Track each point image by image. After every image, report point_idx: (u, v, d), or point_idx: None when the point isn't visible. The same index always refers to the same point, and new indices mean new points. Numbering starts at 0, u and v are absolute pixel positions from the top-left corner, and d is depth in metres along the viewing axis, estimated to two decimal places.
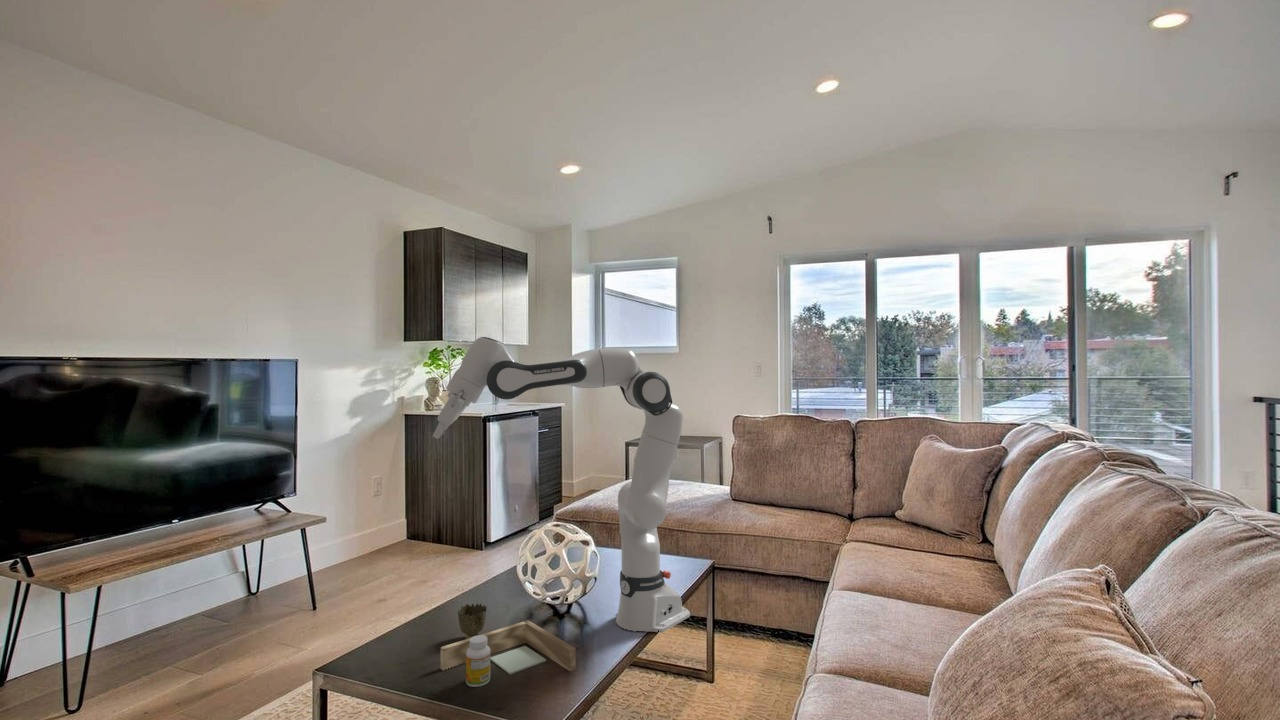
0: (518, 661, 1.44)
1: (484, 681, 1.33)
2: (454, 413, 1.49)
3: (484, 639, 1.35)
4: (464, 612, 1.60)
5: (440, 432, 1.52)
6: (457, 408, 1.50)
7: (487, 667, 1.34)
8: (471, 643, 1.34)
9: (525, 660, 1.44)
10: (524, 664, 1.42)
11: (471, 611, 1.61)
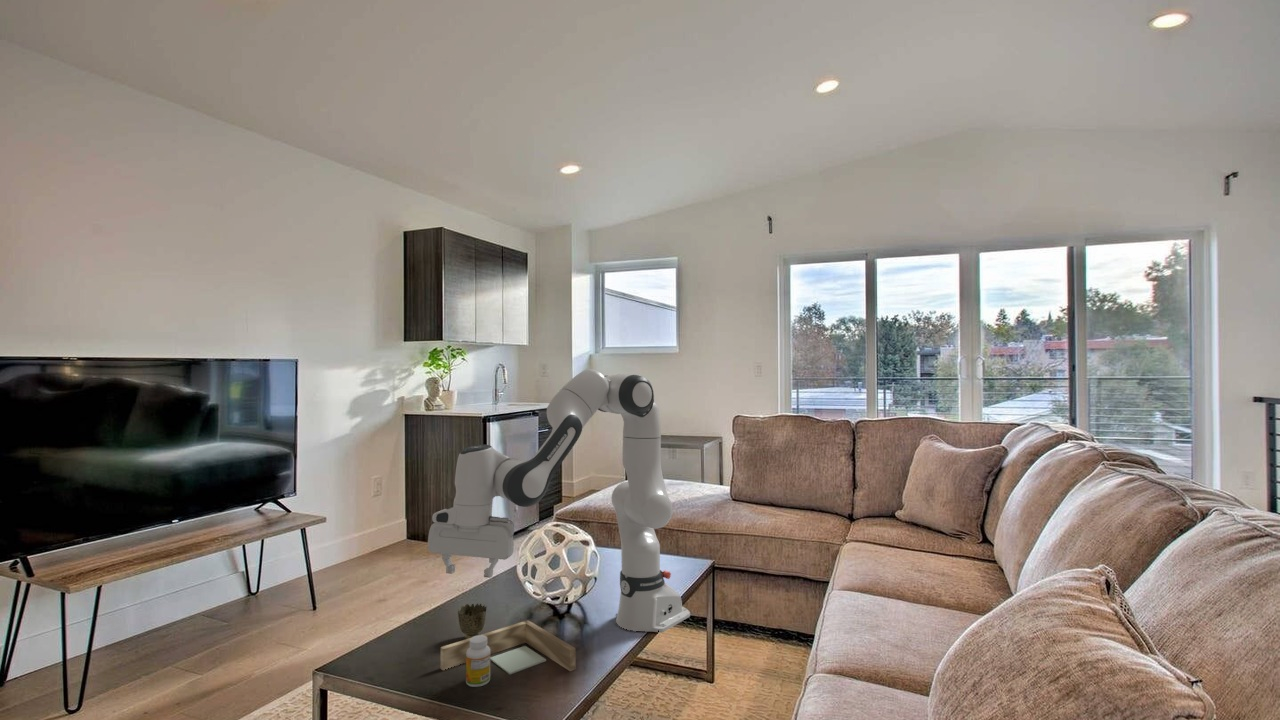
0: (518, 661, 1.44)
1: (484, 681, 1.33)
2: None
3: (484, 639, 1.35)
4: (464, 612, 1.60)
5: (492, 568, 1.36)
6: (512, 535, 1.37)
7: (487, 667, 1.34)
8: (471, 643, 1.34)
9: (525, 660, 1.44)
10: (524, 664, 1.42)
11: (471, 611, 1.61)
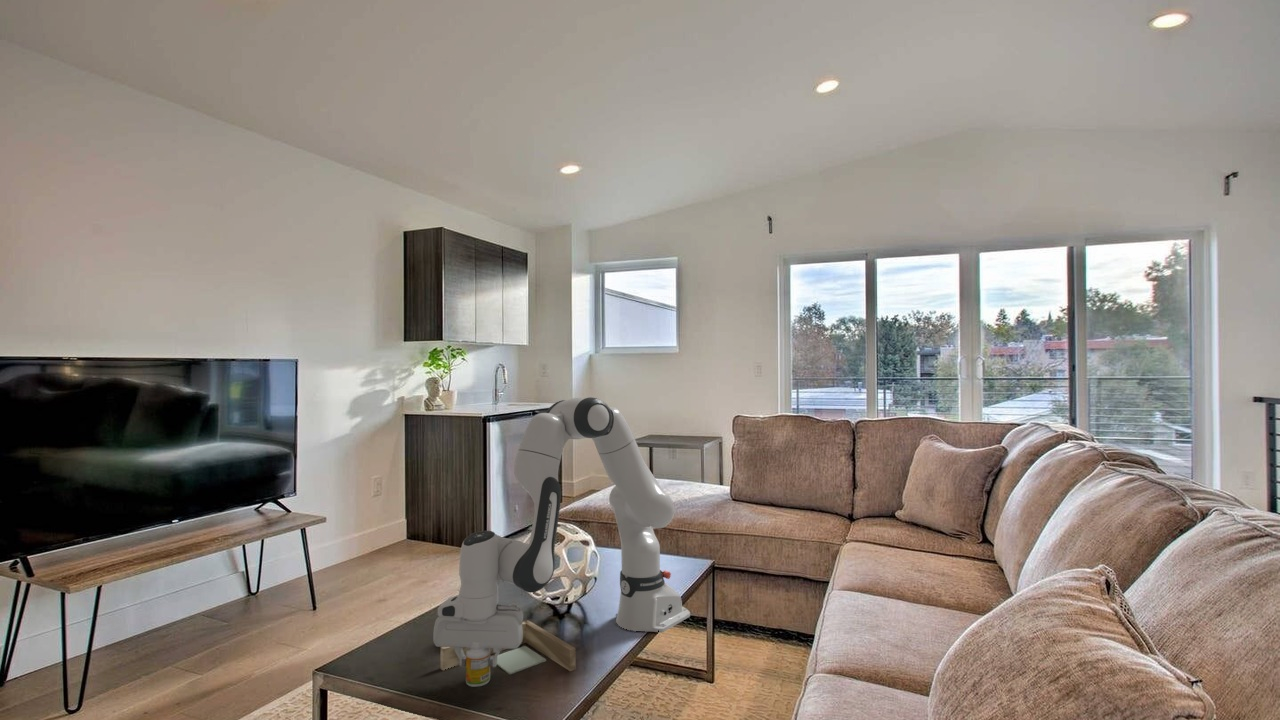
0: (518, 661, 1.44)
1: (484, 681, 1.33)
2: None
3: None
4: None
5: None
6: None
7: (487, 667, 1.34)
8: None
9: (525, 660, 1.44)
10: (524, 664, 1.42)
11: None
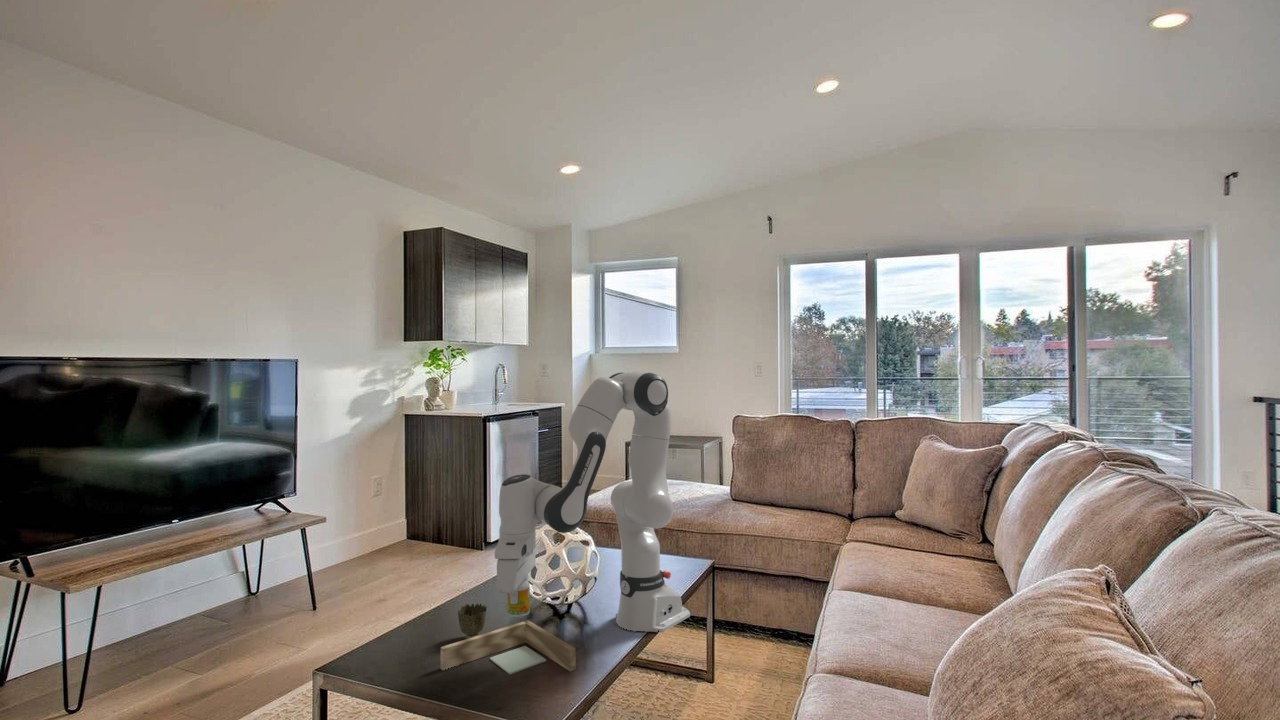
0: (518, 661, 1.44)
1: None
2: None
3: None
4: (464, 612, 1.60)
5: None
6: None
7: None
8: None
9: (525, 660, 1.44)
10: (524, 664, 1.42)
11: (471, 611, 1.61)
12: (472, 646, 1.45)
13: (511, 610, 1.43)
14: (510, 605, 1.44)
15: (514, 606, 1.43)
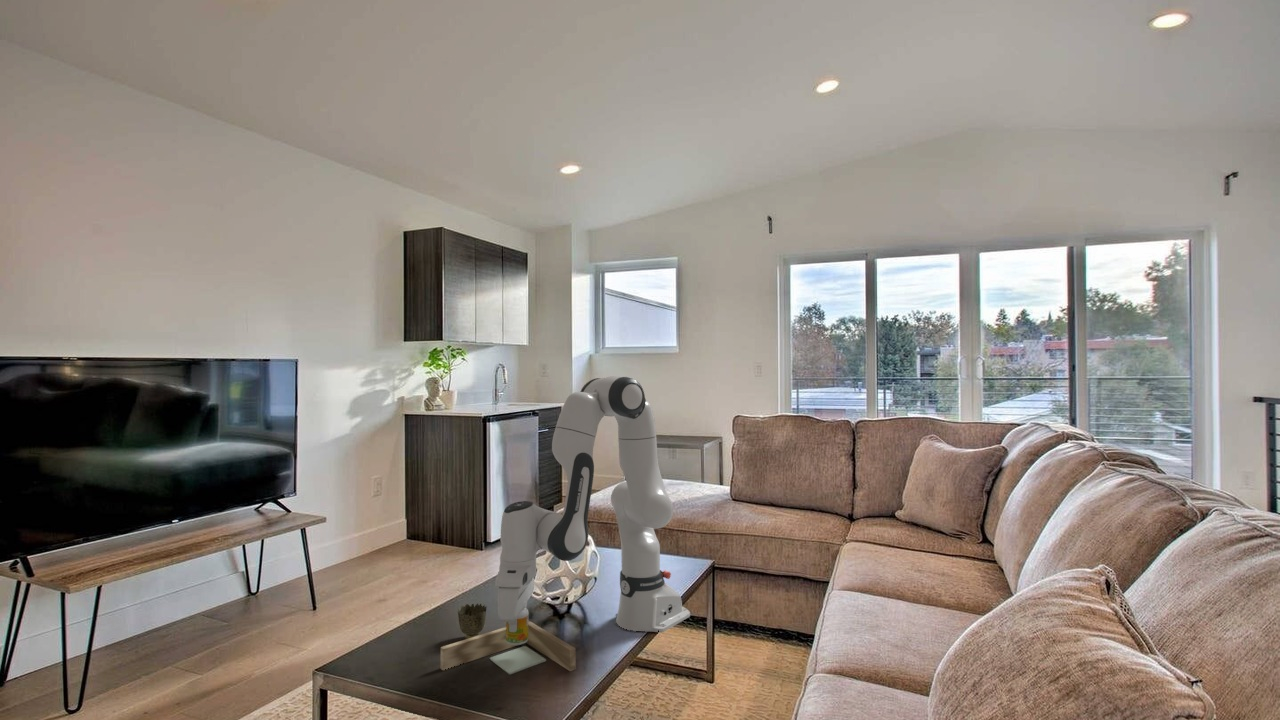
0: (518, 661, 1.44)
1: None
2: None
3: None
4: (464, 612, 1.60)
5: None
6: None
7: None
8: None
9: (525, 660, 1.44)
10: (524, 664, 1.42)
11: (471, 611, 1.61)
12: (472, 646, 1.45)
13: (509, 638, 1.43)
14: (509, 633, 1.43)
15: (513, 634, 1.43)
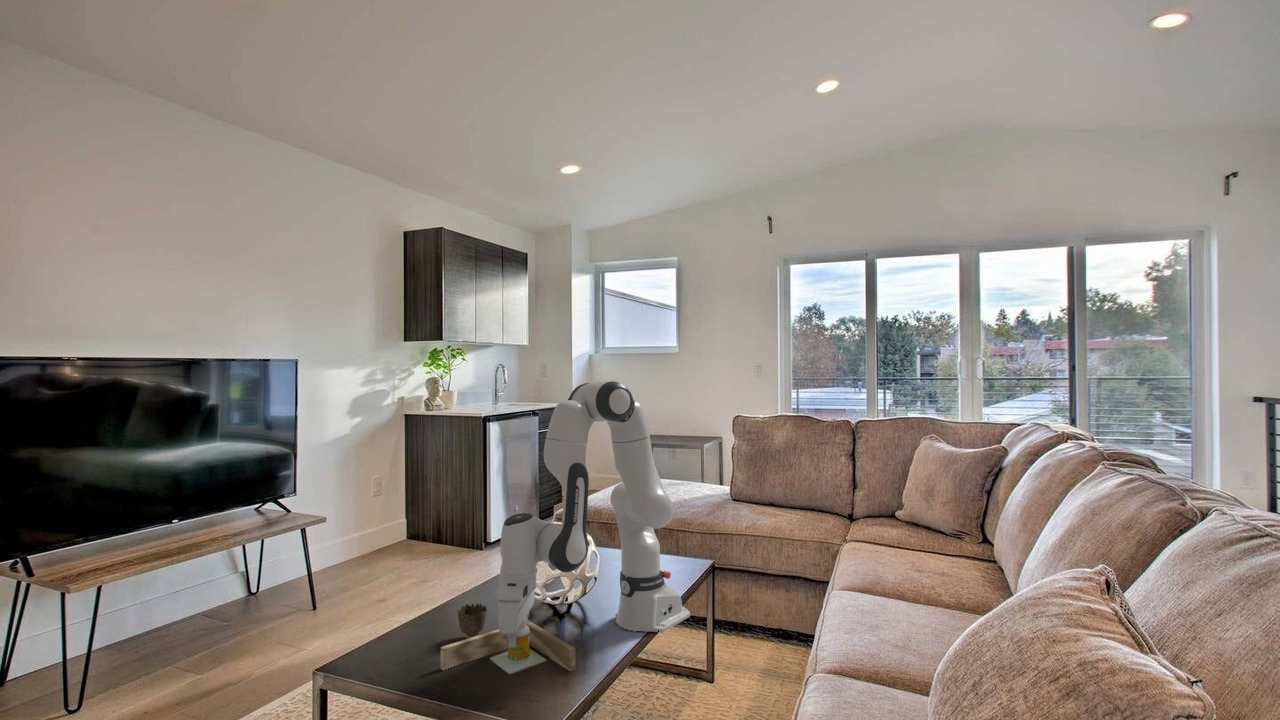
0: None
1: None
2: None
3: None
4: (464, 612, 1.60)
5: None
6: None
7: None
8: (524, 622, 1.44)
9: None
10: (524, 664, 1.42)
11: (471, 611, 1.61)
12: (472, 646, 1.45)
13: (511, 656, 1.43)
14: (510, 651, 1.43)
15: (514, 652, 1.43)
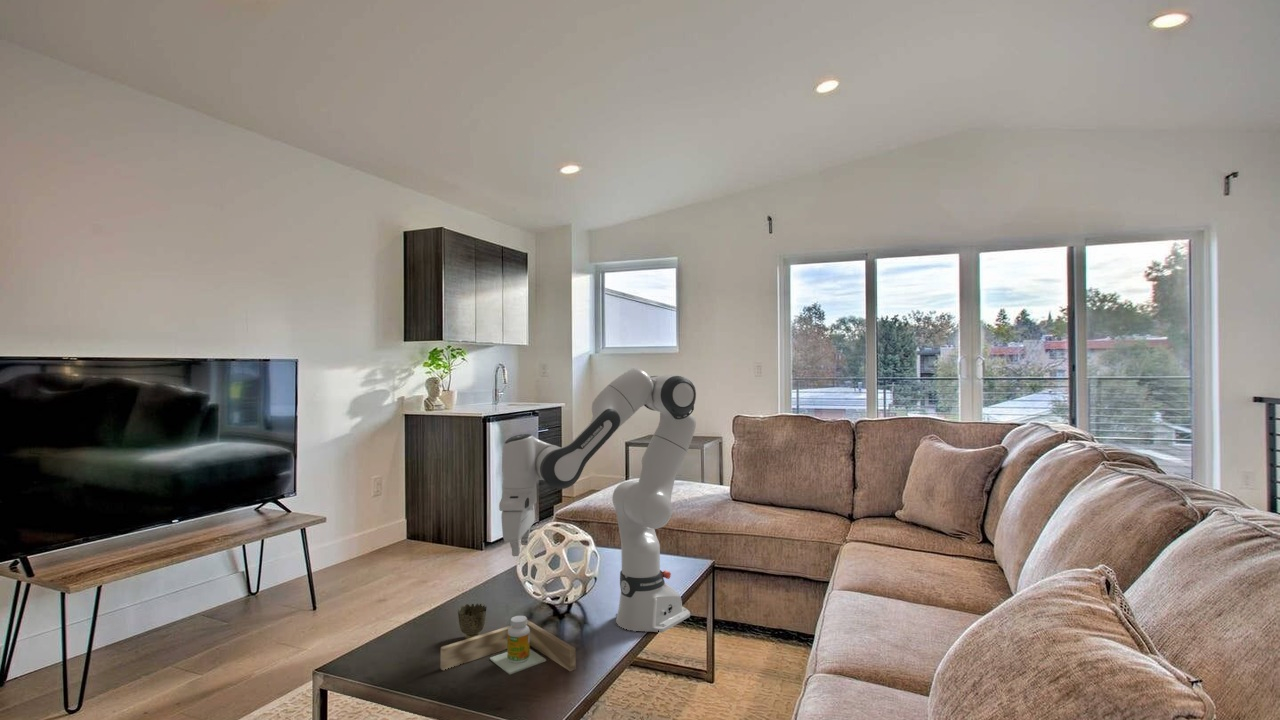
0: None
1: None
2: None
3: (521, 616, 1.47)
4: (464, 612, 1.60)
5: None
6: None
7: None
8: (524, 622, 1.44)
9: None
10: (524, 664, 1.42)
11: (471, 611, 1.61)
12: (472, 646, 1.45)
13: (511, 656, 1.43)
14: (510, 651, 1.43)
15: (514, 652, 1.43)
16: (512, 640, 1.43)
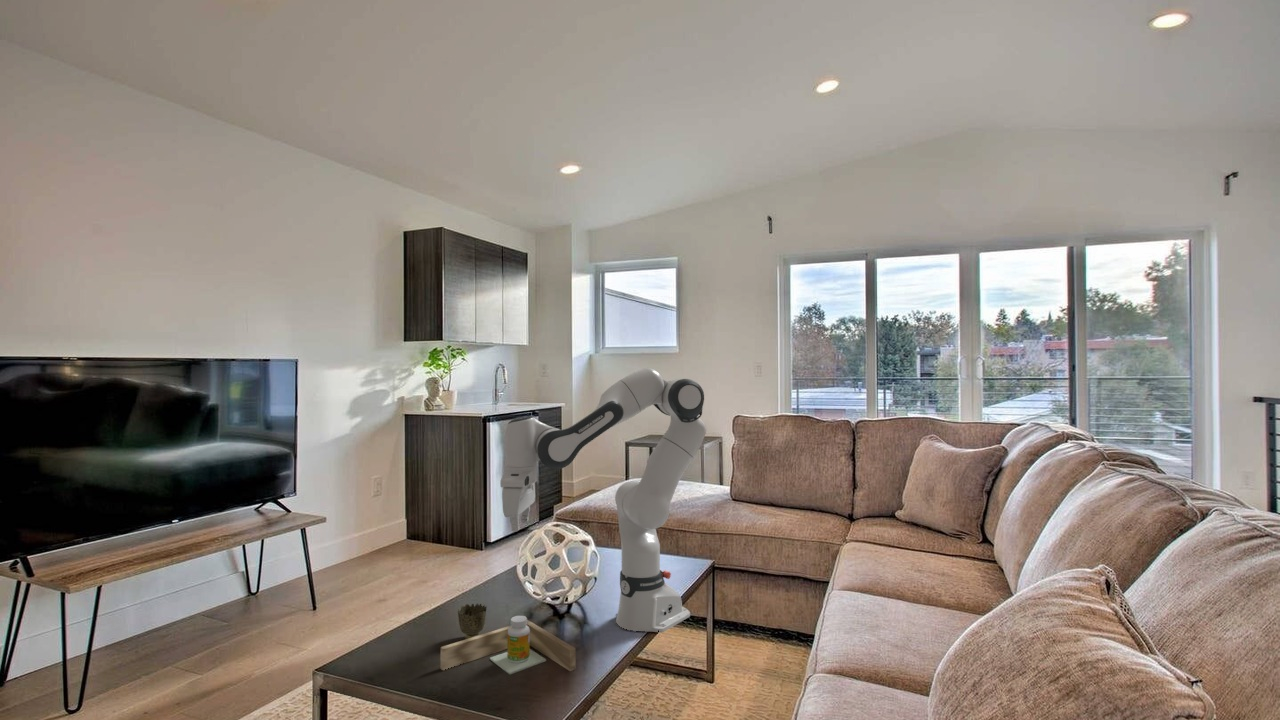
0: None
1: None
2: None
3: (521, 616, 1.47)
4: (464, 612, 1.60)
5: None
6: None
7: None
8: (524, 622, 1.44)
9: None
10: (524, 664, 1.42)
11: (471, 611, 1.61)
12: (472, 646, 1.45)
13: (511, 656, 1.43)
14: (510, 651, 1.43)
15: (514, 652, 1.43)
16: (512, 640, 1.43)
